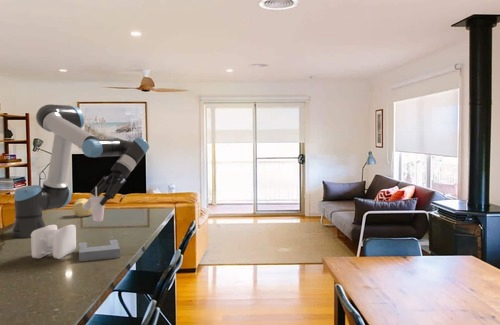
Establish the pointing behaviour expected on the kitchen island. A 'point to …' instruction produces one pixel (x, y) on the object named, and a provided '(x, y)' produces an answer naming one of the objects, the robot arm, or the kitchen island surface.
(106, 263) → the kitchen island surface
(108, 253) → the notched board
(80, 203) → the pale yellow round lump
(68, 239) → the cable organizer
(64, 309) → the kitchen island surface
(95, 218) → the smoothie
